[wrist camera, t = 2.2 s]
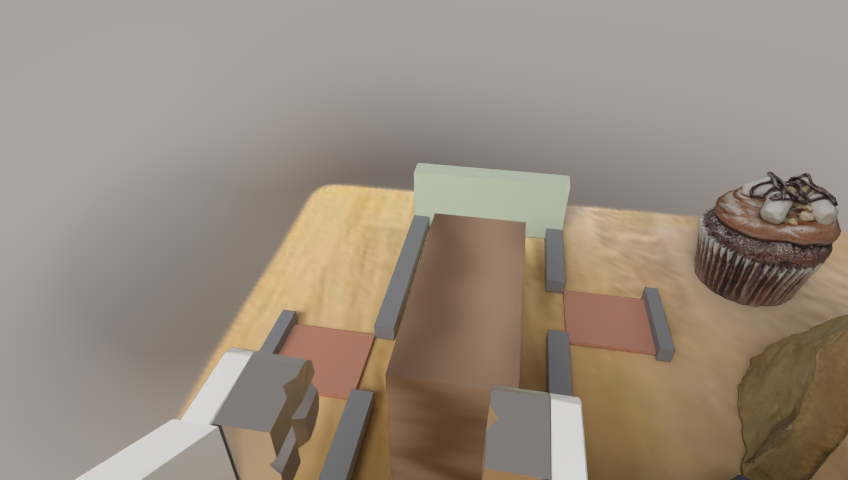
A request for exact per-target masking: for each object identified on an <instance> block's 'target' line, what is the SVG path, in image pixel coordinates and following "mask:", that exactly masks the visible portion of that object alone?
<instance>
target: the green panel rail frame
mask: <svg viewBox="0 0 848 480" xmlns="http://www.w3.org/2000/svg"><path fill="white" fill-rule="evenodd" d="M569 191H570V177H569V176H565V175H553V174H540V173H529V172H518V171H505V170H494V169H483V168H471V167H459V166H448V165H436V164H424V163H418V164H417V167H416V169H415V171H414V218H413V220H412V223H411V226H410V229H409V231H408V234H407V237H406V240H405V243H404V245H403V248H402V251H401V254H400V256H399V259H398V262H397V265H396V267H395V270H394V273H393V276H392V279H391V281H390V284H389V287H388V290H387V292H386V295H385V298H384V301H383V304H382V306H381V309H380V312H379V315H378V317H377V320H376V323H375V326H374V329H375V335H373V334H365V333H358V332H350V331H343V330H335V329H328V328H320V327H313V326H305V325H298V324H297V318H296V312H295V311H289V310H283V311H282V313H281V315H280V316H279V318H278V320H277V321H276V323H275V325H274V327H273V328H272V330H271V332H270V334H269V335H268V337H267V339H266V340H265V342H264V344H263V346H262V347H261V349H260V352H266V353H272V354H278V355H283V356H289V357H295V358H301V359H307V360H311V361H312V362H313V367H314V372H315V374H314V376H313V378H312V381H311V383H312V384H313V385H314V386H315V387H316V388H317V389H318V395H322V396H328V397H335V398H342V399H348V400H347V403H346V406H345V409H344V412H343V414H342V417H341V420H340V423H339V425H338V428H337V431H336V434H335V437H334V439H333V442H332V445H331V448H330V450H329V453H328V456H327V459H326V461H325V464H324V467H323V470H322V473H321V475H320V478H319V480H351V478H352V475H353V471H354V468H355V465H356V462H357V458H358V455H359V452H360V449H361V445H362V442H363V439H364V436H365V432H366V429H367V426H368V423H369V420H370V416H371V413H372V410H373V407H374V392H371V391H364V390H357V388H358V385H359V382H360V379H361V376H362V373H363V370H364V368H365V365H366V362H367V359H368V356H369V353H370V351H371V348H372V345H373V342H374V339H375V338H382V339H390V340H394V339H395V335H396V332H397V329H398V326H399V322H400V319H401V316H402V313H403V309H404V306H405V303H406V300H407V296H408V293H409V290H410V287H411V283H412V280H413V277H414V274H415V271H416V267H417V264H418V261H419V258H420V254H421V251H422V248H423V245H424V241H425V238H426V235H427V232H428V228H429V227H431V224H432V221H433V217H434V214H435V213H437V214H447V215H458V216H468V217H478V218H488V219H498V220H508V221H518V222H526V230H525V236H526V237H535V238H545V291H551V292H559V293H563V298H564V316H565V332H562V331H554V330H548V333H547V338H546V381H547V392H548V394H549V393H552V394H559V395H566V396H572V382H571V366H570V349H569V344H573V345H581V346H589V347H596V348H604V349H612V350H620V351H627V352H635V353H643V354H651V355H655V357H656V360H660V361H667V362H670V361H671V359H672V356H673V354H674V351H675V349H674V346H673V342H672V339H671V335H670V331H669V328H668V324H667V321H666V317H665V313H664V310H663V306H662V303H661V299H660V295H659V292H658V289H656V288H647V287H645V289H644V292H643V295H642V299H635V298H627V297H618V296H609V295H601V294H592V293H583V292H575V291H566V290H564V287H565V266H564V250H563V233H562V229H563V223H564V218H565V212H566V207H567V201H568V196H569Z"/></svg>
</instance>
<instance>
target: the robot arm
mask: <svg viewBox="0 0 848 480" xmlns="http://www.w3.org/2000/svg"><path fill="white" fill-rule="evenodd" d="M314 374H315V372H314V367H313V362H312V361H311V360H307V359H301V358H295V357H289V356H283V355H278V354H272V353H266V352H260V351H253V350H247V349H240V348H234V347H232V348H231V349H230V350H228V351H227V352H226V353H224V355H223V356H222V358H221V359H220V361H219V362H218V364H217V365H216V367H215V368H214V370H213V371H212V373H211V374H210V376H209V378H208V379H207V381H206V382H205V384H204V385H203V387H202V388H201V390H200V391H199V393H198V394H197V396H196V397H195V399H194V400H193V402H192V403H191V405H190V406H189V408H188V409H187V411H186V413H185V414H184V416H183V417H182V419H181V420H179V419H172V420H170V421H168V422H167V423H165V424H164V425H162V426H161V427H159V428H157V429H156V430H154V431H152V432H151V433H149V434H148V435H146V436H144V437H143V438H141V439H140V440H138V441H137V442H135V443H133V444H131V445H130V446H128V447H127V448H125V449H123V450H122V451H120V452H119V453H117V454H115V455H114V456H112V457H111V458H109V459H107V460H106V461H104V462H102V463H101V464H99V465H98V466H96V467H94V468H93V469H92V470H90V471H88V472H86V473H85V474H83V475H82V476H80V477H78V478H77V479H75V480H293V479H294V477H295V475H296V472H297V470H298V467H299V465H300V462H301V461H300V456H299V451H298V448H300V447H301V446H302V445H304V444H305V443H306V442H308V441H309V440H310V438H311V435H312V432H313V430H314V427H315V423H316V419H317V414H318V409H319V396H318V389H317V388H316V387H315V386H314V385H313V384H312V383H311V381H312V378H313V376H314ZM482 469H483V470H482V477H481V480H588V473H587V461H586V449H585V436H584V424H583V412H582V402H581V400H580V398H579V397H573V396H566V395H559V394H552V393H549V394H548V392H542V391H534V390H526V389H519V388H511V387H503V386H496V385H491V392H490V400H489V410H488V418H487V427H486V436H485V445H484V456H483V466H482Z"/></svg>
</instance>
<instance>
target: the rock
mask: <svg viewBox="0 0 848 480" xmlns="http://www.w3.org/2000/svg"><path fill="white" fill-rule="evenodd" d="M750 361H751V366H750V367H749V369H748V371H747V374H746V375H745V376H744V377H743V379H742V382H741V384H739V385H738V390H739V398H738V407H739V414H740V418H741V419H742V425H743V428H742V435H743V439H744V442H745V443H746V447H747V453H746V455H745V458H744V460H743V462H742V469H743V475H744V476H746V477H747V478H749V479H750V480H810V479H811V478H812V477H813V475H814V474H815V473H816V472H817V470H818V469H819V468H820V466H821V465H822V464H823V463H824V462H825V460H826V459H827V457H828V456H829V455H830V454H831V453H833V452H834V451H835V450H836V449H837V447H838V446H839V445H840V444H841V443H842V442H843V440H844V439H845V437H846V435H847V434H848V315H843V316H839V317H836V318H834V319H831V320H829V321H827V322H825V323H823V324H820V325H817V326H815V327H813V328H811V329H810V330H809V331H806V332H804V333H802V334H794V335H792V336H790V337H787V338H783V339H781V340H780V341H778V342H776V343H774V344H772V345H770V346H768V347H767V348H766V349H765V350H764V352H763V354H761V355H758V356H757V357H754V358H751V359H750Z"/></svg>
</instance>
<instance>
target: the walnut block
mask: <svg viewBox="0 0 848 480" xmlns="http://www.w3.org/2000/svg"><path fill="white" fill-rule="evenodd" d="M525 230H526V222H518V221H508V220H498V219H488V218H478V217H468V216H458V215H447V214H437V213H435V214H434V217H433V221H432V224H431V227H430V231H429V234H428V237H427V240H426V244H425V247H424V250H423V254H422V257H421V260H420V263H419V267H418V270H417V273H416V277H415V280H414V283H413V286H412V290H411V293H410V296H409V300H408V303H407V306H406V309H405V313H404V316H403V319H402V323H401V326H400V329H399V332H398V336H397V339H396V342H395V346H394V349H393V352H392V355H391V359H390V362H389V365H388V369H387V372H386V390H387V408H388V427H389V445H390V463H391V480H481V477H482V470H483V469H482V466H483V456H484V445H485V436H486V427H487V418H488V410H489V400H490V392H491V385H496V386H503V387H511V388H519V378H520V353H521V328H522V304H523V279H524V255H525Z"/></svg>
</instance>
